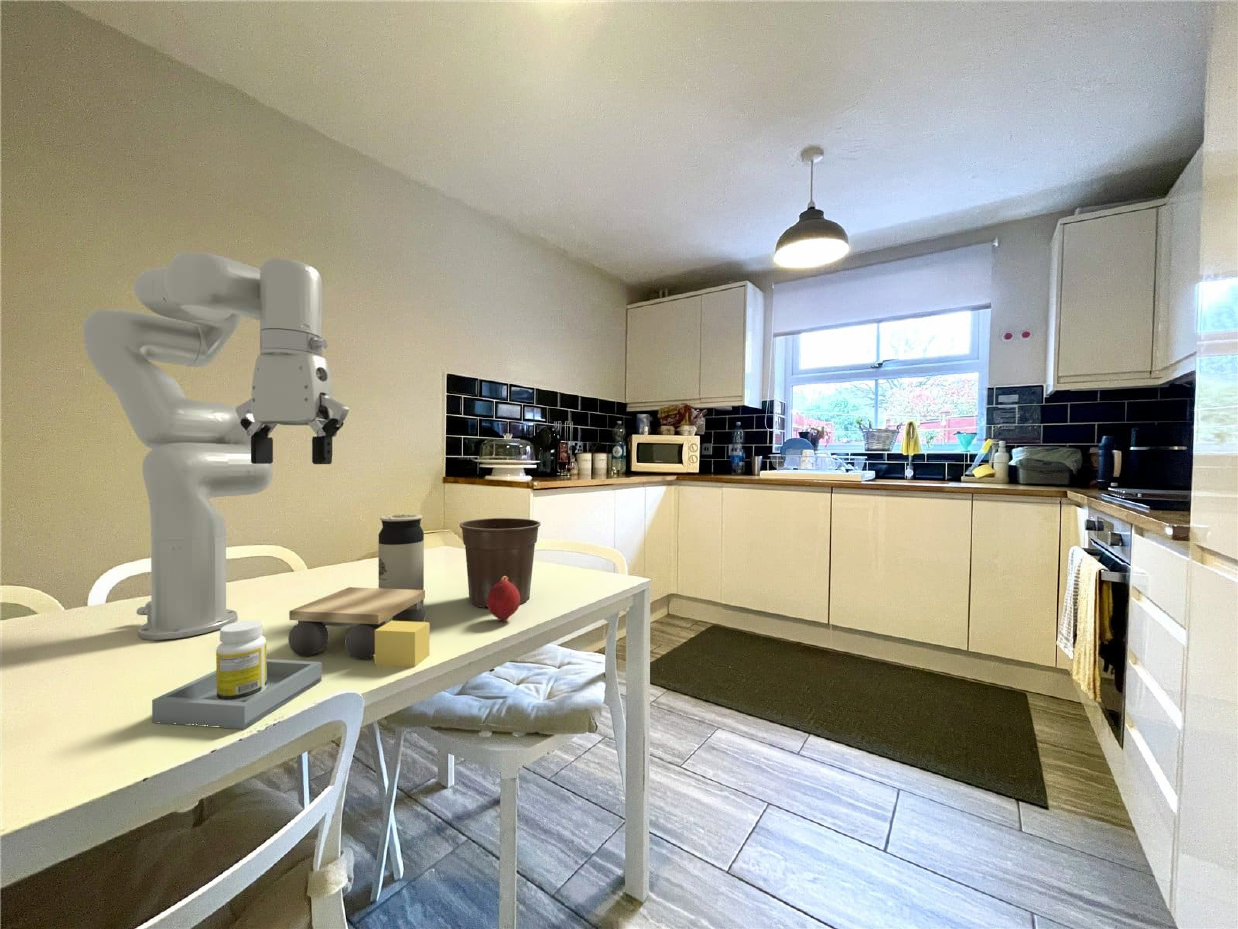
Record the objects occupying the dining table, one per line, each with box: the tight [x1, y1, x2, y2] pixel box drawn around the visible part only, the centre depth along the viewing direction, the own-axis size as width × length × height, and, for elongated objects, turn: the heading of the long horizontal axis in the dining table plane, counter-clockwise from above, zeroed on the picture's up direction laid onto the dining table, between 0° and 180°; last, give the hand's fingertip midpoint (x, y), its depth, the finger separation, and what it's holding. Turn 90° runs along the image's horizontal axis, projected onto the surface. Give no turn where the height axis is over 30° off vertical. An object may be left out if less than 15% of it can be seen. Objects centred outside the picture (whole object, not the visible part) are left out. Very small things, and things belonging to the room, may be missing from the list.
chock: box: [374, 620, 431, 668], centre depth 69 cm, size 6×4×5 cm, turn 84°
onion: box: [486, 576, 521, 622], centre depth 85 cm, size 6×6×8 cm
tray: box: [151, 658, 322, 730], centre depth 57 cm, size 11×11×2 cm
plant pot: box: [459, 517, 542, 609], centre depth 98 cm, size 16×16×16 cm
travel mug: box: [377, 513, 425, 606], centre depth 92 cm, size 8×8×18 cm
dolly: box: [288, 586, 427, 661], centre depth 75 cm, size 14×13×7 cm
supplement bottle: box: [215, 619, 267, 702], centre depth 57 cm, size 5×5×8 cm
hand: (291, 463), depth 70 cm, fingers open, 9 cm apart
